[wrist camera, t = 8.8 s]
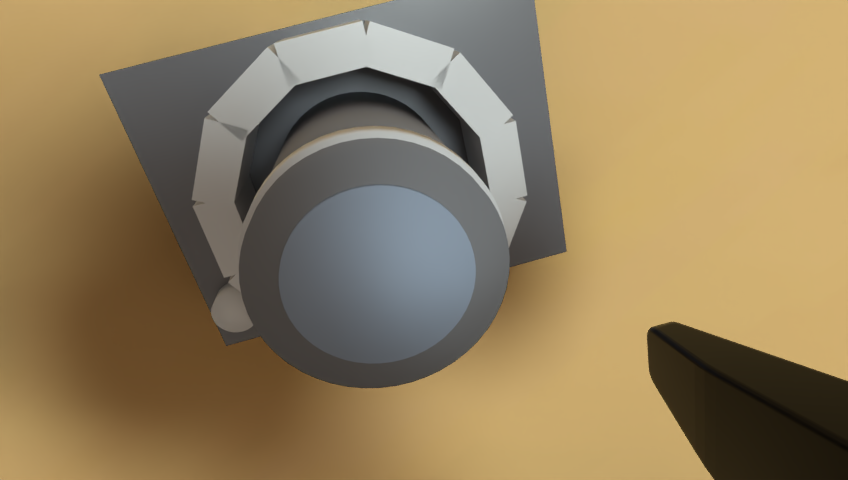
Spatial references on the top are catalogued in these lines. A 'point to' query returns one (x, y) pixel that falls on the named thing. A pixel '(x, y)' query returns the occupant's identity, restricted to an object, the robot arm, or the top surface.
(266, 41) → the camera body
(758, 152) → the top surface
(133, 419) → the top surface
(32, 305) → the top surface
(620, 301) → the top surface
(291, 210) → the lens
